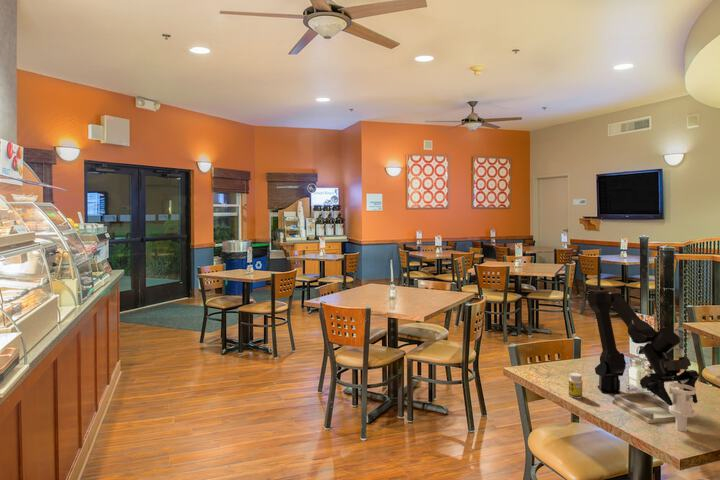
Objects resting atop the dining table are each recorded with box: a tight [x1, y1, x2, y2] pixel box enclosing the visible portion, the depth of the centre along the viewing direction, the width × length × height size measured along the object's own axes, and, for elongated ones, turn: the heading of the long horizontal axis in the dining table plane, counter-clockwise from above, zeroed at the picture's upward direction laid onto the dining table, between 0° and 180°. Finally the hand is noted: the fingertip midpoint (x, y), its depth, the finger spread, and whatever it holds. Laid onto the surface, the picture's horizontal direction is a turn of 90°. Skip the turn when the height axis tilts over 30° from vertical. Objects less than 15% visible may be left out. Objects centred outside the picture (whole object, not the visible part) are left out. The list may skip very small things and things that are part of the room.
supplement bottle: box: [568, 372, 583, 399], centre depth 186 cm, size 5×5×8 cm
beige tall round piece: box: [668, 381, 697, 432], centre depth 158 cm, size 7×7×15 cm
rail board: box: [611, 391, 676, 424], centre depth 173 cm, size 17×14×3 cm
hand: (684, 404), depth 157 cm, fingers open, 9 cm apart
